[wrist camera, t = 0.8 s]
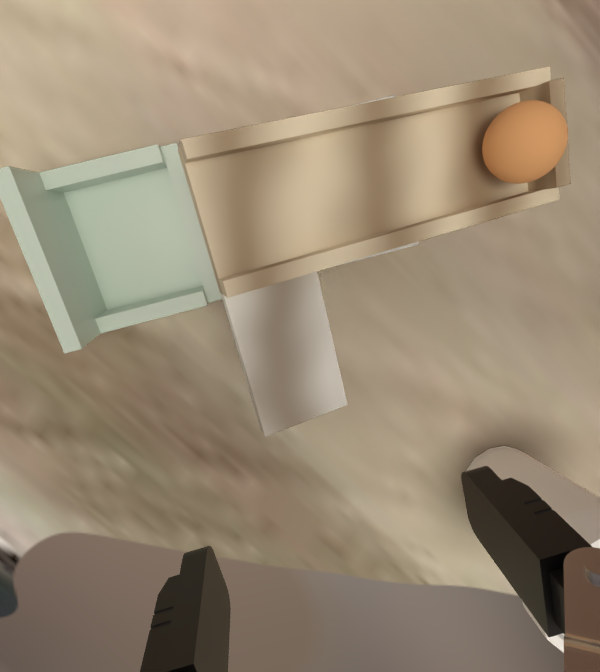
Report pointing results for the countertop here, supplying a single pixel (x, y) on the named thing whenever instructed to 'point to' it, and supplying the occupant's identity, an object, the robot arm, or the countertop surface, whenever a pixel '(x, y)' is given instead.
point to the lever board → (343, 215)
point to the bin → (110, 241)
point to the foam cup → (547, 497)
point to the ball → (525, 141)
